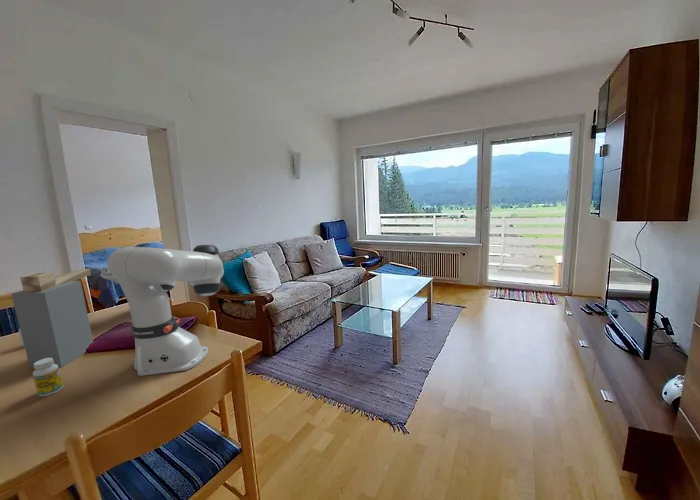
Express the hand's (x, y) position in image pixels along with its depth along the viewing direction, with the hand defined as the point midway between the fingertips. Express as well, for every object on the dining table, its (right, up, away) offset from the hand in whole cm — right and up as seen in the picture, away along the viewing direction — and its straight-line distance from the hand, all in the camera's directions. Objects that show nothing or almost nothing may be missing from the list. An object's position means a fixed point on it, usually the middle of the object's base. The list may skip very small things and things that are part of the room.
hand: (113, 268), depth 133 cm
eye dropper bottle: (-22, -29, -12) cm, 39 cm away
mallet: (0, -4, -23) cm, 23 cm away
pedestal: (0, -30, -23) cm, 38 cm away
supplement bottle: (+15, -33, -43) cm, 56 cm away
